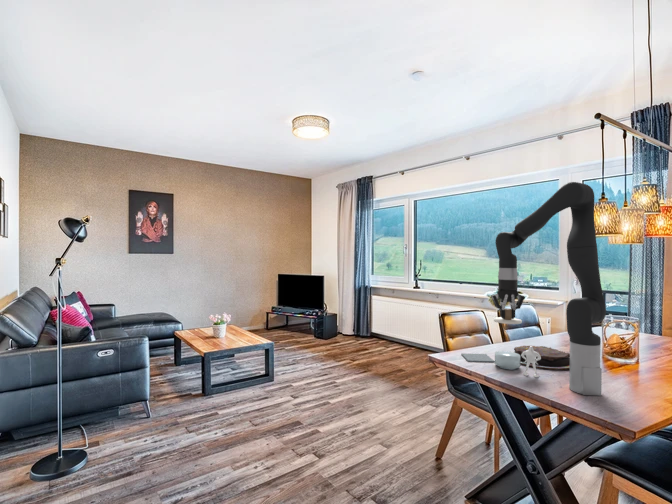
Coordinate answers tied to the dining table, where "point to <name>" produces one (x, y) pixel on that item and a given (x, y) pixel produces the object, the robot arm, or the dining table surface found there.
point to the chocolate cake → (546, 358)
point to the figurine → (531, 360)
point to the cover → (508, 318)
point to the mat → (477, 357)
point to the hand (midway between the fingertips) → (507, 318)
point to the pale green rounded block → (507, 360)
